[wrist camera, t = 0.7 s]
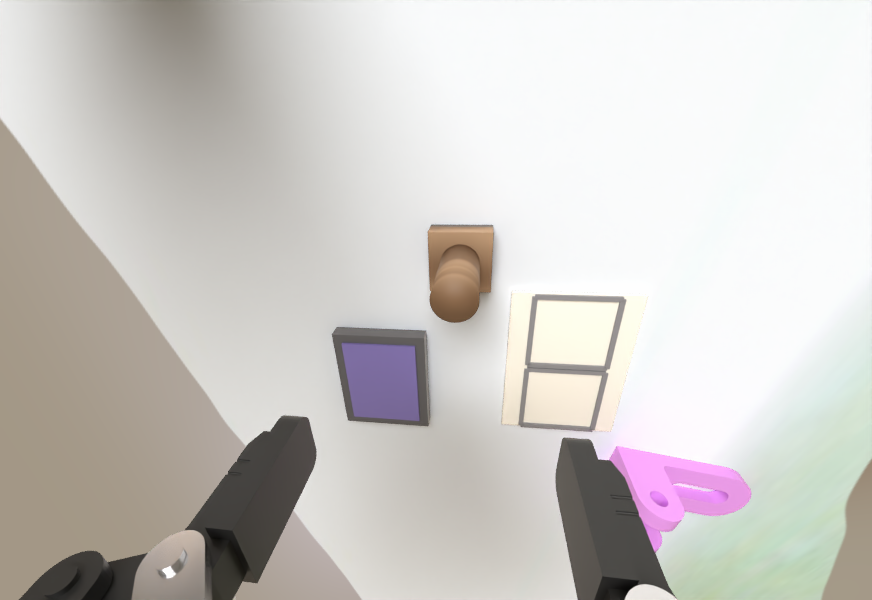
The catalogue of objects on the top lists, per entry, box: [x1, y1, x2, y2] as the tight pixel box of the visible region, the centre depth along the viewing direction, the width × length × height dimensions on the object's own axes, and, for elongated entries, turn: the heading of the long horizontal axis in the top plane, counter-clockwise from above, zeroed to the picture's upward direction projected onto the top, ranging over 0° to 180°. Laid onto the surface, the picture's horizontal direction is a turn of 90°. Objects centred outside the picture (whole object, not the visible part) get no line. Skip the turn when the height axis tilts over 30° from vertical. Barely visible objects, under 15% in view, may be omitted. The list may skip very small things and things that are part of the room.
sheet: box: [502, 291, 648, 432], centre depth 30 cm, size 14×10×1 cm
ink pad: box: [332, 327, 430, 426], centre depth 33 cm, size 10×8×1 cm
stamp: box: [428, 225, 493, 323], centre depth 23 cm, size 4×4×8 cm
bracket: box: [609, 446, 751, 553], centre depth 32 cm, size 13×6×7 cm, turn 82°
